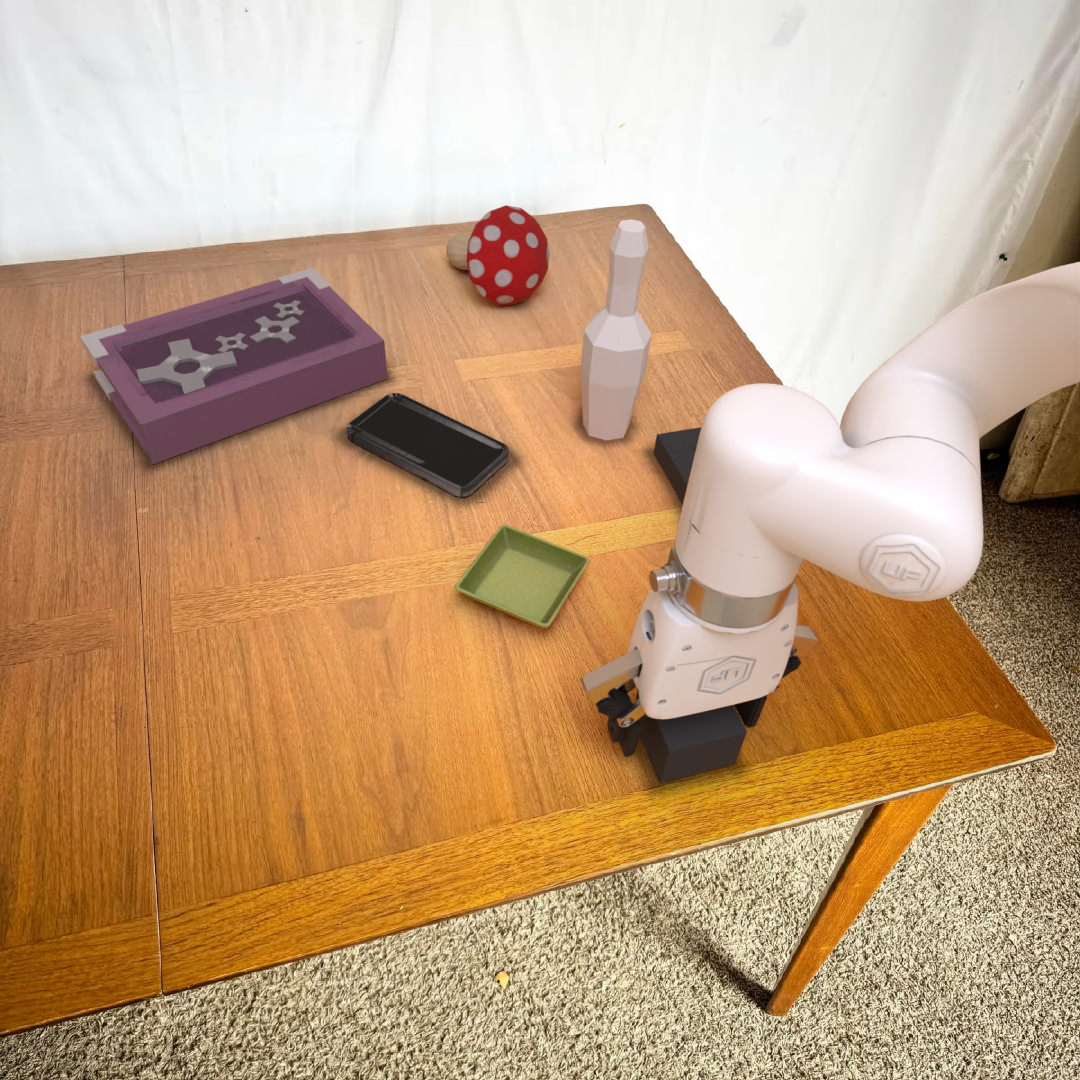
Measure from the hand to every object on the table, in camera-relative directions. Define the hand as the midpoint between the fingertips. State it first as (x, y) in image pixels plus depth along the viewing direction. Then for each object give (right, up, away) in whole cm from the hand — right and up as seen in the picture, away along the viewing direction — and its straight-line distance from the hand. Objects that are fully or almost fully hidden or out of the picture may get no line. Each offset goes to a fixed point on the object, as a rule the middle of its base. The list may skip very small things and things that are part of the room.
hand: (682, 725), depth 71 cm
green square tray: (-12, +9, +11) cm, 19 cm away
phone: (-22, +23, +23) cm, 39 cm away
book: (-42, +30, +29) cm, 59 cm away
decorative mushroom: (-16, +44, +45) cm, 65 cm away
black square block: (0, -1, +1) cm, 2 cm away
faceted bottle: (-4, +25, +27) cm, 37 cm away
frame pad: (+9, +19, +22) cm, 30 cm away
